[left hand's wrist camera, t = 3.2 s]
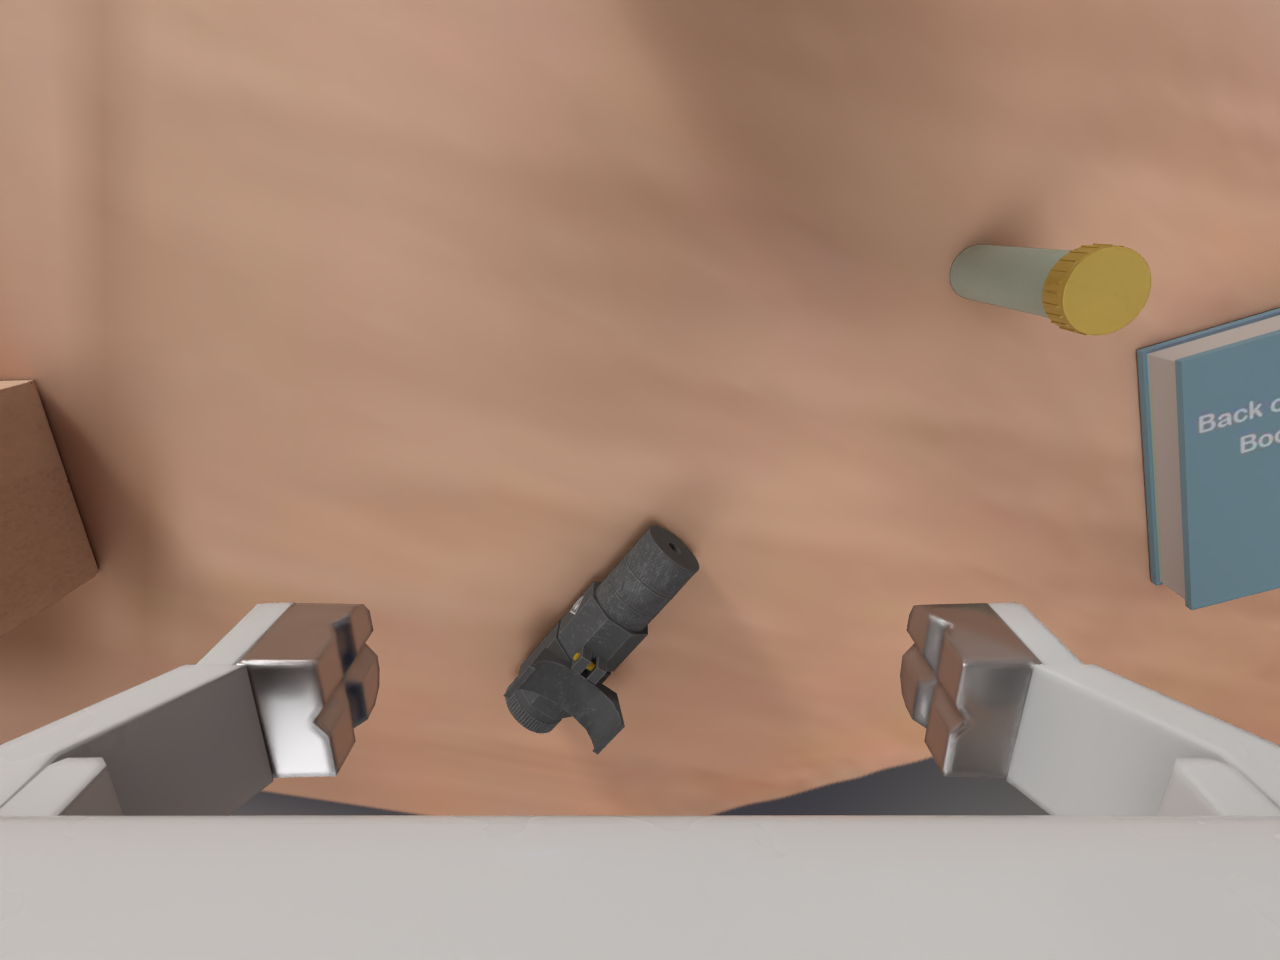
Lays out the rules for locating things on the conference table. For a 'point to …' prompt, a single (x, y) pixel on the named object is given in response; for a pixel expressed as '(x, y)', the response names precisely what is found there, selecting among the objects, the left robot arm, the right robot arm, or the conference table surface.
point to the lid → (1096, 289)
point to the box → (35, 512)
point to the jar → (1004, 275)
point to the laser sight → (599, 641)
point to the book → (1213, 460)
